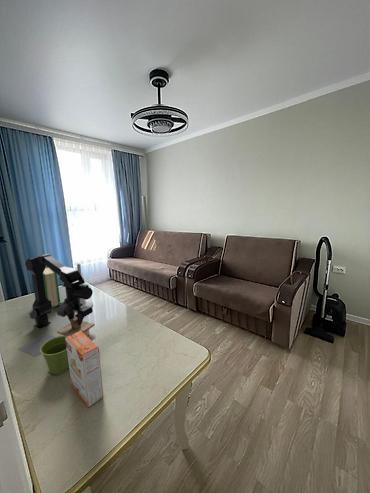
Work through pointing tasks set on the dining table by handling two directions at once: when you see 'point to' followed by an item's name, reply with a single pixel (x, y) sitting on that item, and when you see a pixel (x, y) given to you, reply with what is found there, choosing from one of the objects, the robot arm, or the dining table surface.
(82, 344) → the cracker box
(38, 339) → the mat
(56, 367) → the plant pot
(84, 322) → the lid
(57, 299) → the hardback book
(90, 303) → the candlestick
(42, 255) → the robot arm
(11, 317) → the dining table surface
